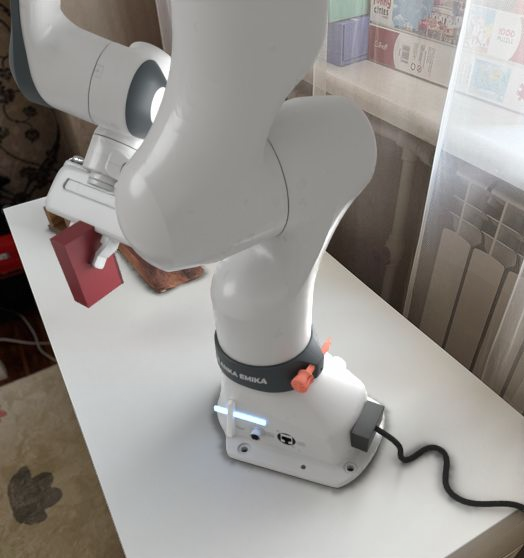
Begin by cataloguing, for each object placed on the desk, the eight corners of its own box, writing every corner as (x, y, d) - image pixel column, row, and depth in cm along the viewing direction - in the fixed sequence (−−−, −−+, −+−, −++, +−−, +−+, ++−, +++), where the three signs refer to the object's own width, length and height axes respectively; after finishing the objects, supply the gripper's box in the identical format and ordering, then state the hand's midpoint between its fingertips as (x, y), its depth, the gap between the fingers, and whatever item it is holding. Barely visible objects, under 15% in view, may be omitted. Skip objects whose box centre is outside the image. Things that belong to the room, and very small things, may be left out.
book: (124, 282, 82) (104, 220, 74) (88, 308, 78) (64, 245, 71) (109, 275, 84) (89, 214, 76) (74, 300, 80) (48, 238, 72)
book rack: (130, 229, 106) (124, 205, 102) (96, 252, 101) (88, 228, 97) (84, 209, 112) (76, 186, 108) (49, 230, 107) (40, 207, 103)
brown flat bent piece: (97, 223, 106) (141, 201, 108) (101, 232, 107) (145, 210, 110) (155, 292, 90) (205, 264, 92) (159, 301, 92) (208, 274, 94)
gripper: (52, 143, 77) (21, 235, 78) (154, 178, 67) (116, 280, 69) (85, 160, 82) (56, 245, 84) (183, 194, 73) (148, 289, 75)
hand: (84, 261), depth 76 cm, fingers closed on book, 3 cm apart
